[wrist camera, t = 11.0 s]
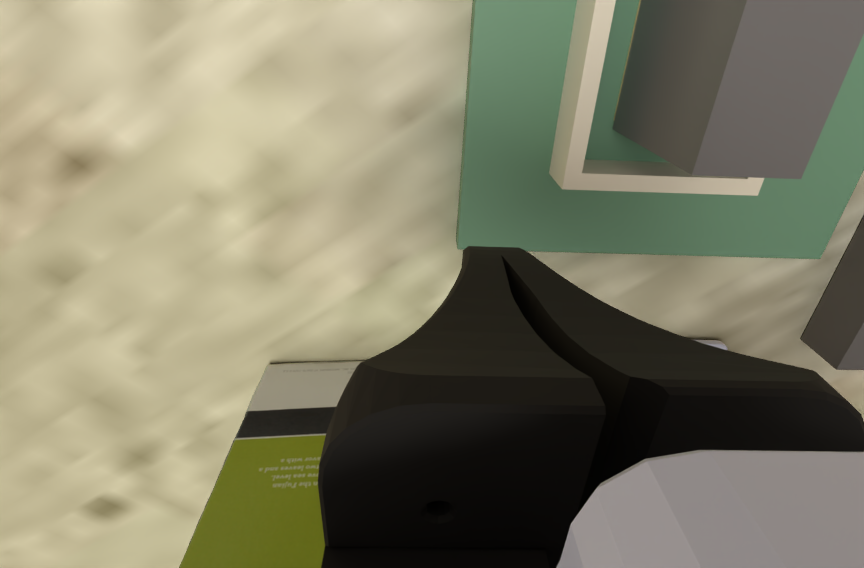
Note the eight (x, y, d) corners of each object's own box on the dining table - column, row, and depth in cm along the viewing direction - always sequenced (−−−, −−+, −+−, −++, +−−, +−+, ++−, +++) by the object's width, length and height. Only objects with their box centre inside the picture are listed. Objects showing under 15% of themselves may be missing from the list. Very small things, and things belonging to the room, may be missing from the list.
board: (803, 249, 22) (856, 281, 19) (456, 239, 21) (460, 270, 19) (1034, -245, 14) (1175, -306, 11) (492, -283, 13) (510, -356, 11)
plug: (690, 132, 18) (801, 179, 13) (612, 129, 18) (691, 175, 13) (745, -51, 15) (915, -87, 10) (653, -56, 15) (776, -95, 10)
